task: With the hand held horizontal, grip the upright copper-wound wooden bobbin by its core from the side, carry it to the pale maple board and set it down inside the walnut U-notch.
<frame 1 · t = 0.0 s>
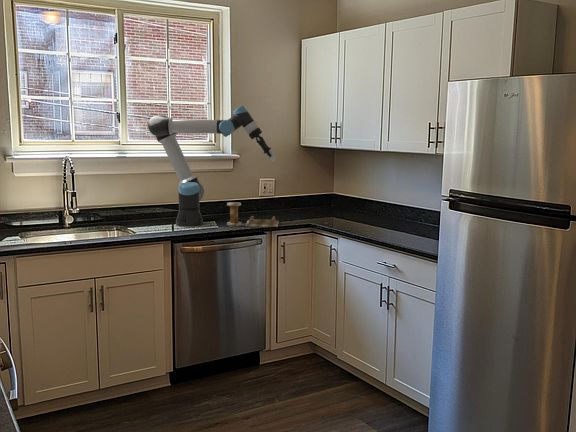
hand: (274, 160, 347), 36 cm above the countertop, fingers open, 13 cm apart
board: (262, 224, 340), on the countertop
bobbin: (234, 224, 338), on the countertop
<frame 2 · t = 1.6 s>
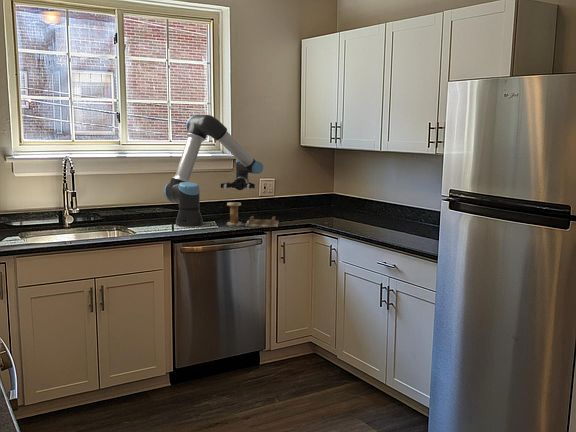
hand: (236, 187, 344), 20 cm above the countertop, fingers open, 13 cm apart
nothing on the countertop moved.
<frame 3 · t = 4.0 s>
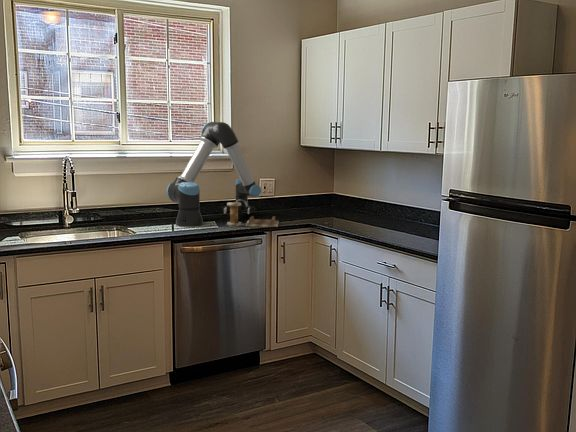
hand: (236, 211, 342), 7 cm above the countertop, fingers open, 13 cm apart
nothing on the countertop moved.
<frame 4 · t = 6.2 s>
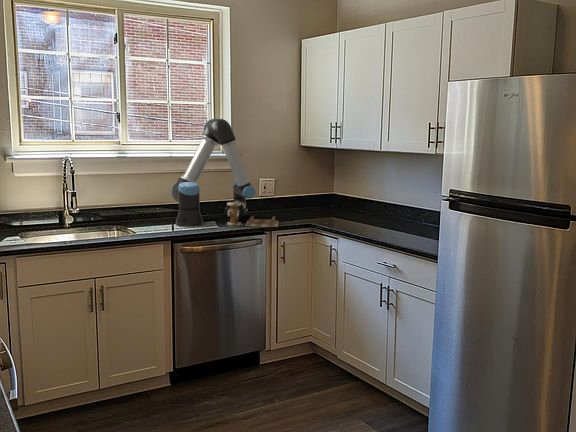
hand: (232, 213, 332), 7 cm above the countertop, fingers closed on bobbin, 4 cm apart
bobbin: (234, 224, 338), on the countertop, touching gripper
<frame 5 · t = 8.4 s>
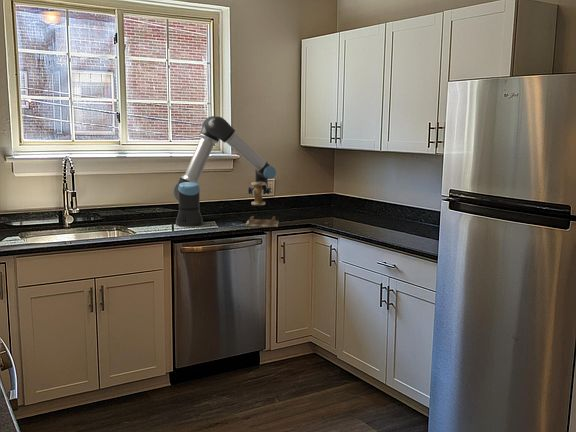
hand: (257, 193, 332), 19 cm above the countertop, fingers closed on bobbin, 4 cm apart
bobbin: (258, 204, 338), point 12 cm above the countertop, touching gripper
when the fingers open (9 cm above the countertop, at t = 10.5 s): bobbin drops 1 cm, resting on board.
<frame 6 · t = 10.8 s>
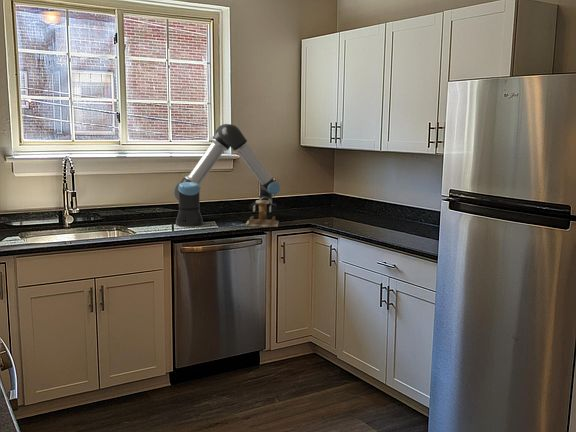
hand: (261, 209, 334), 9 cm above the countertop, fingers open, 8 cm apart
bobbin: (262, 222, 340), point 1 cm above the countertop, touching board
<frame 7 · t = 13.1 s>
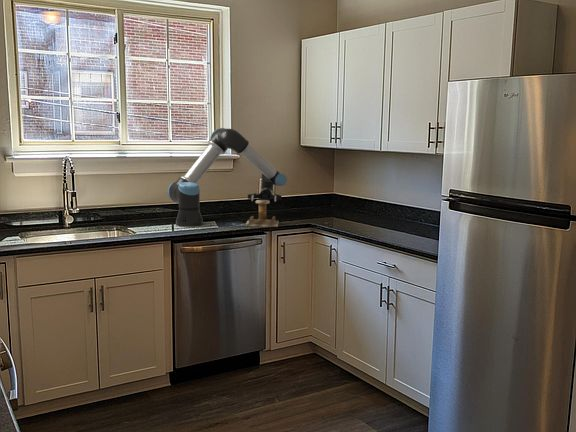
hand: (263, 198, 348), 13 cm above the countertop, fingers open, 13 cm apart
nothing on the countertop moved.
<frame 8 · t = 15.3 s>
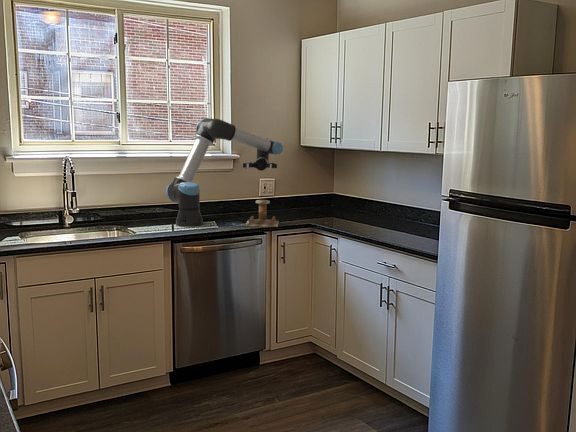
hand: (258, 166, 347), 32 cm above the countertop, fingers open, 13 cm apart
nothing on the countertop moved.
at the end: bobbin 0.0 cm from the board (horizontally); bobbin tilted 0°; bobbin point 1.2 cm above the countertop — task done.
